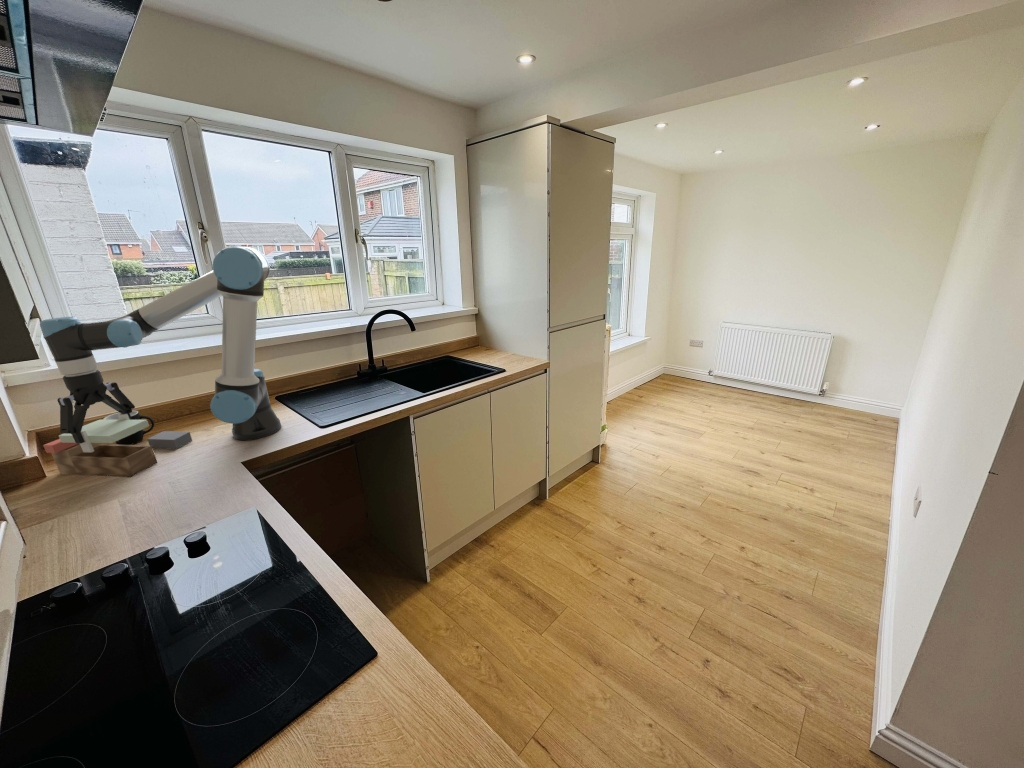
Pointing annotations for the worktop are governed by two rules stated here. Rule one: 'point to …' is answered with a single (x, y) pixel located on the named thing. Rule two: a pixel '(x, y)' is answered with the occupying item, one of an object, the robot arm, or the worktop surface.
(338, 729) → the worktop surface
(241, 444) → the worktop surface
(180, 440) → the lid rest
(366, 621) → the worktop surface
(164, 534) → the worktop surface
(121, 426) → the lid
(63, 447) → the red rectangular bar
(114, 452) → the toolbox
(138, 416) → the mug
